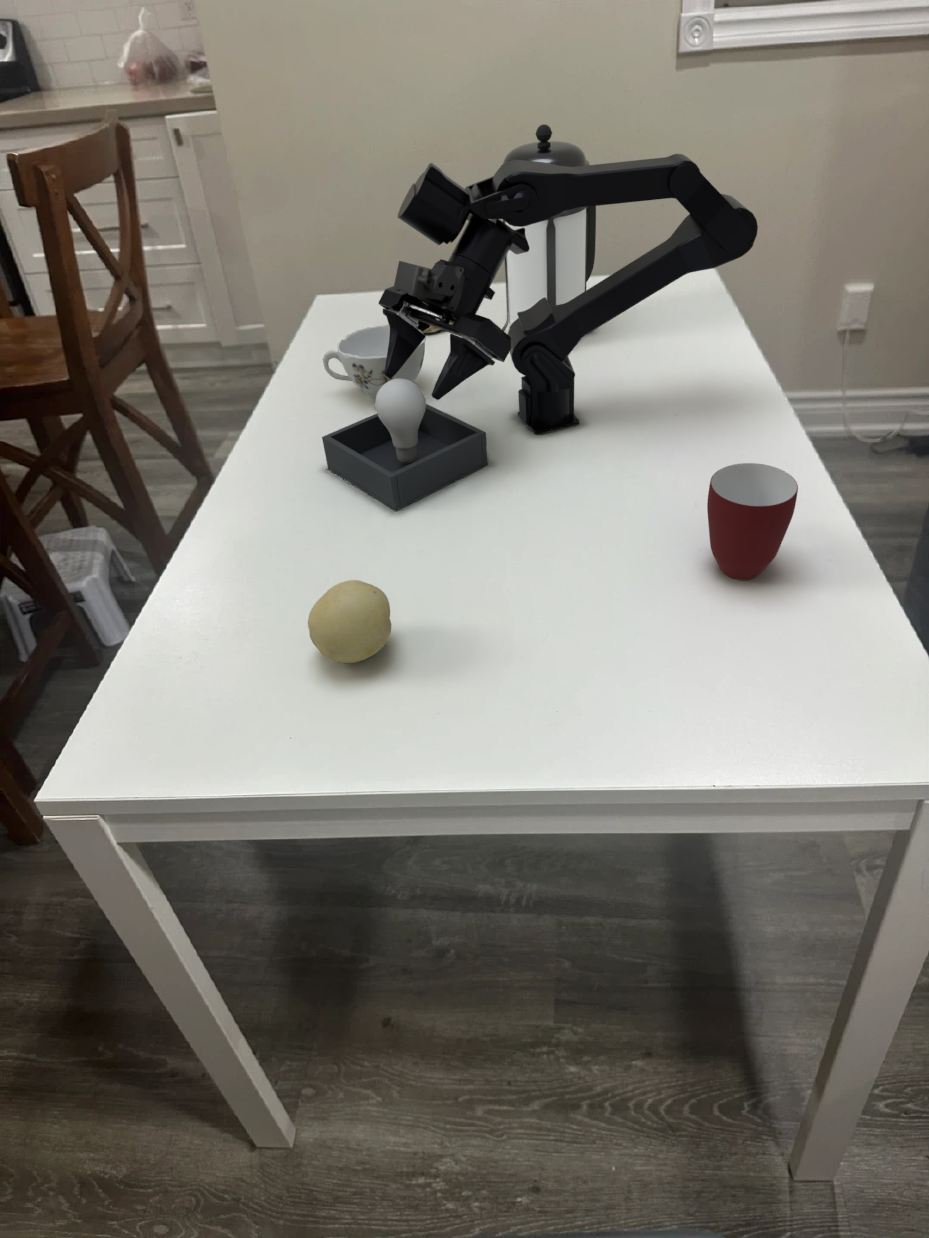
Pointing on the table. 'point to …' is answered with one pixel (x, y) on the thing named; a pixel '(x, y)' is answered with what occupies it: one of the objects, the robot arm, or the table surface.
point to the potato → (350, 622)
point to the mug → (749, 516)
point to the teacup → (371, 359)
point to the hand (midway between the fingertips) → (410, 387)
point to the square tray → (378, 472)
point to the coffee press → (551, 240)
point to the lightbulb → (401, 415)
